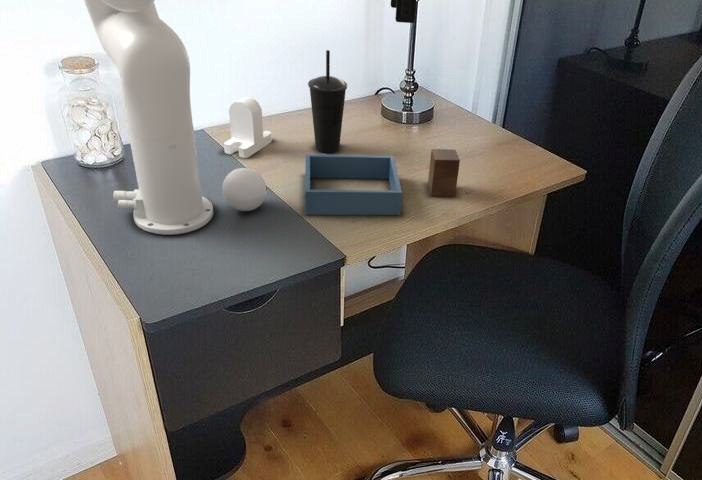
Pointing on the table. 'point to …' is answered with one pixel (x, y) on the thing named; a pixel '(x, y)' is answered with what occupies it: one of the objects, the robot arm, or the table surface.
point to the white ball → (244, 189)
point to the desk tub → (352, 199)
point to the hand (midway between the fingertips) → (402, 14)
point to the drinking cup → (327, 109)
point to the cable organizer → (246, 128)
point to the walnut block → (443, 172)
